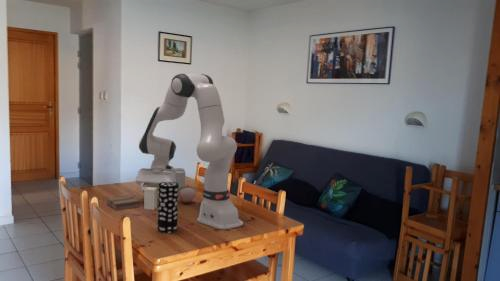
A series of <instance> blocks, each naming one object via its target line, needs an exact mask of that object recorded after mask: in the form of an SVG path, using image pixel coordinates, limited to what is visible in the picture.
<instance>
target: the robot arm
mask: <svg viewBox="0 0 500 281" xmlns="http://www.w3.org/2000/svg"><path fill="white" fill-rule="evenodd" d="M191 97H192V98H194V99H195V100H196V104H197V110H198V115H199V123H200V138H199V141H198V142H199V143H198V144H197V147H196V155H197V157H198V158H199V159H200V160H201V161H203V162H205V163H209V164H208V167H207V168H206V169H205V171H204V177H203V178H204V182H203V189H202V197H203V198H202V201H201V203H200V207H199V208H200V209H199V215H198V217H197V218H196V222H199V223H200V224H203V225H206V226H209V227H212V228H215V229H218V230H229V229H235V228H239V227H242V226H243V225H244V222H243V221H242V220H241V219H240V218H239V211H238V208H237V207H236V206H235V205H234V204H233V202H232V201H231V199H230V196H231V193H230V191H229V187H228V186H229V174H230V169H231V165H232V162H233V158H234V156H235V153H236V152H237V149H238V144H237V142H236V140H235V139H234V138H233V137H232V136H228V135H223V128H224V125H225V117H224V111H223V105H222V101H221V96H220V94H219V92H218V88H217V86H215V84H214V80H213V79H212V77H211V76H209V75H207V74H205V73H201V74H199V73H195V72H190V73H178V74H176V75H174V76H173V77H172V79H171V82H170V84H169V86H168V88H167V90H166V94H165V98H164V101H163V102H162V104H161V106H158V107H156V108H155V110H154V111H153V113H152V115H151V117H150V120H149V122H148V123H147V127H146V128H145V131H144V133H143V135H142V136H141V138H140V140H139V143H138V148H139V150H140V152H141V153H142V154H146V155H153V160H152V162H151V164H150V168H144V167H143V168H142V167H141V168H140V169H139V170H138V172H137V175H136V178H135V182H136V184H137V185H140V186H141V192H142V193H144V190H145V189H146V186H147V185H150V186H159V183H161V182H175V183H176V177H175V175H176V172H175V167H174V166H173V165H170V164H169V163H170V162H171V160H173V158H174V157H175V153H176V150H177V145H176V143H175V141H173V140H171V139H168V138H163V137H160V136H157V135H156V136H155V135H154V132H155V129H156V127H157V125H158V123H160V122H163V121H164V122H165V121H173V120H178V119H179V118H181V117H182V116H183V115H184V114H185V111H186V109H187V106H188V101H189V98H191Z"/></svg>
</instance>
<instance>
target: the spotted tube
mask: <svg viewBox="0 0 500 281" xmlns="http://www.w3.org/2000/svg"><path fill="white" fill-rule="evenodd" d="M178 188H179V184H178V183H175V182H161V183H159V186H158V192H157V222H156V223H157V224H156V225H157V229H156V230H157V232H159V233H161V234H162V233H163V234H170V233H171V234H173V233H175V232H177V230H178V217H179V215H178V211H179V195H178V193H179V189H178Z"/></svg>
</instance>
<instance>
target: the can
mask: <svg viewBox="0 0 500 281" xmlns="http://www.w3.org/2000/svg"><path fill="white" fill-rule="evenodd" d="M174 169H175V172H176V175H175V177H176V183H178V184H179V188H180V187H182V186H186V171H185V168H181V167H177V168H175V167H174ZM179 188H178V190H180V189H181V188H180V189H179Z"/></svg>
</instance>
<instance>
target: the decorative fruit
mask: <svg viewBox="0 0 500 281" xmlns="http://www.w3.org/2000/svg"><path fill="white" fill-rule="evenodd" d="M180 188H181V189H180ZM180 188H179V189H178V199H180V200H181V201H182V202H184V203H185V204H188V203H190V202H192V201H194V199H195V198H196V196H197V192H196V190H197V188H196V187H195V186H189V184H187V186H186V185H185V186H182V187H180Z"/></svg>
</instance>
